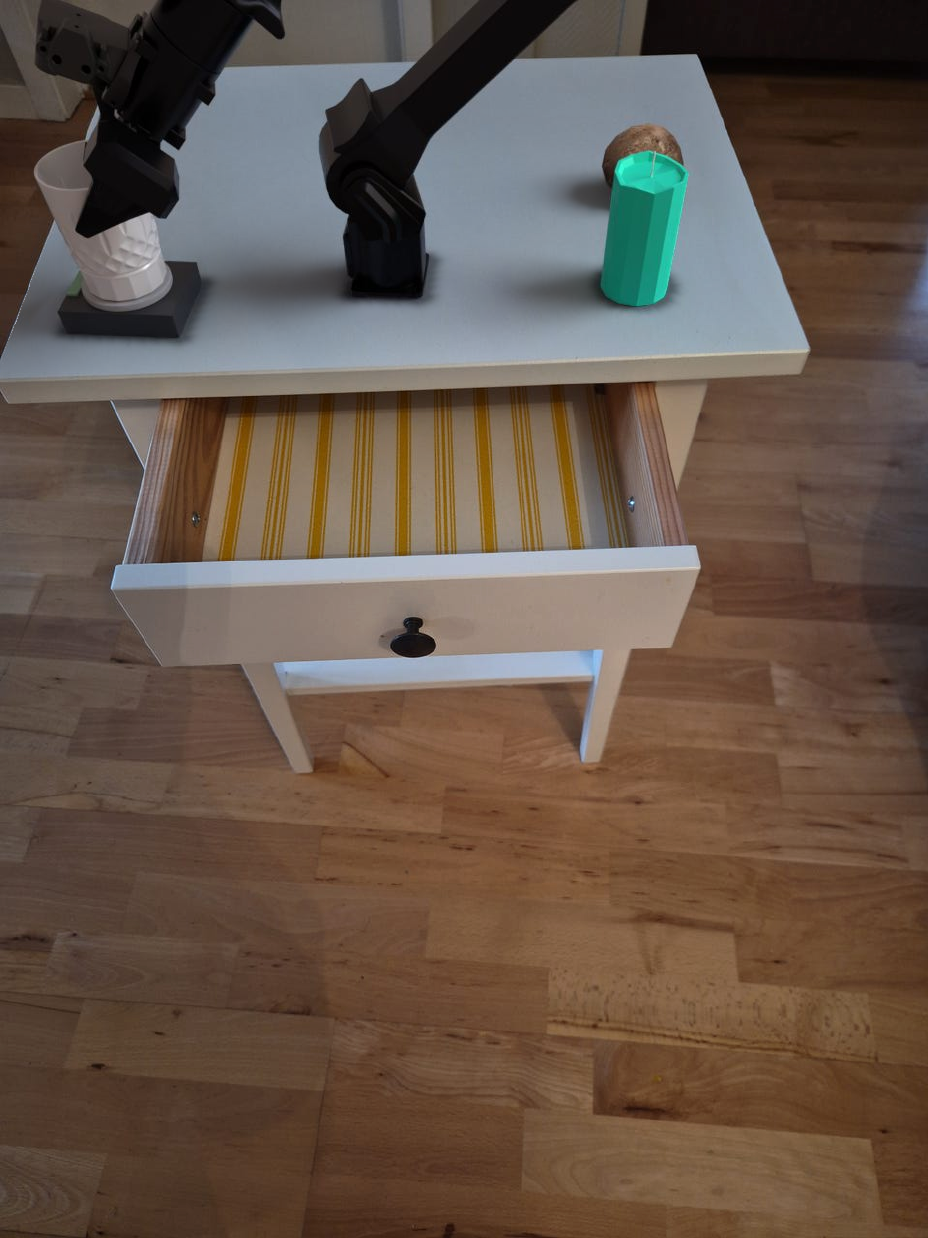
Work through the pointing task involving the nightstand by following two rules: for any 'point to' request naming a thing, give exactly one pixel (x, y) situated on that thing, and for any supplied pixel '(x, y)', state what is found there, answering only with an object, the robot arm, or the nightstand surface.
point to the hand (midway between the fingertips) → (84, 207)
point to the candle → (642, 227)
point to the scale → (134, 306)
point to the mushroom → (639, 147)
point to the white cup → (112, 258)
